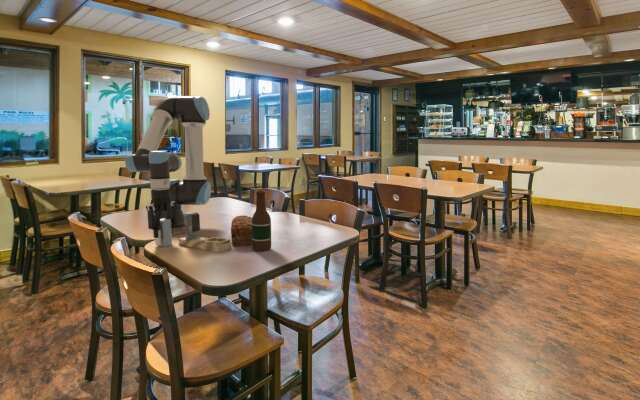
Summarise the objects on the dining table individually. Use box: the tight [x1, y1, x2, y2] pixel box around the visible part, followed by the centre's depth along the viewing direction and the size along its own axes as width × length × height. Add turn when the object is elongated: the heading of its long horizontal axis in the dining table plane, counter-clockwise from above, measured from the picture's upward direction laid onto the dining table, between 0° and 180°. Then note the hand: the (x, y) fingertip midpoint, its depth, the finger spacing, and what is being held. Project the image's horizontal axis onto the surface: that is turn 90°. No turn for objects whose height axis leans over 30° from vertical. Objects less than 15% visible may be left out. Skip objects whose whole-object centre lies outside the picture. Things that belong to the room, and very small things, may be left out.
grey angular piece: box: [178, 211, 232, 253], centre depth 166 cm, size 23×7×14 cm, turn 60°
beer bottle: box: [251, 190, 272, 253], centre depth 161 cm, size 8×8×24 cm
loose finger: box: [159, 218, 173, 247], centre depth 168 cm, size 5×4×11 cm
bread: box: [230, 215, 252, 247], centre depth 176 cm, size 19×11×10 cm, turn 9°
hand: (163, 243), depth 168 cm, fingers closed on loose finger, 5 cm apart
